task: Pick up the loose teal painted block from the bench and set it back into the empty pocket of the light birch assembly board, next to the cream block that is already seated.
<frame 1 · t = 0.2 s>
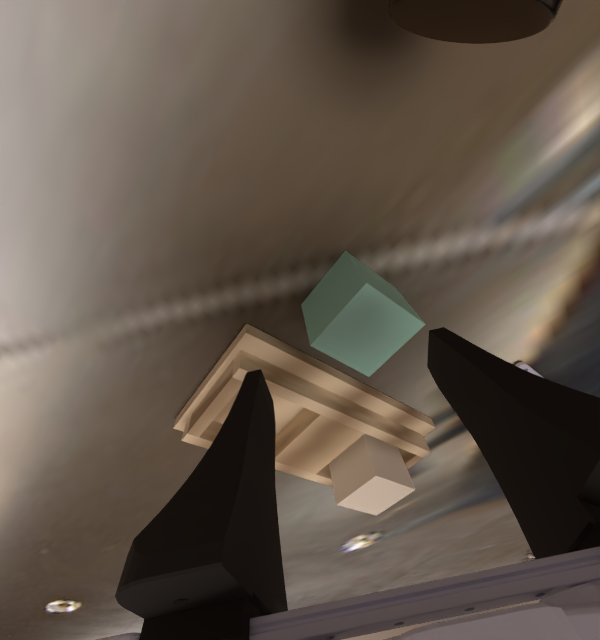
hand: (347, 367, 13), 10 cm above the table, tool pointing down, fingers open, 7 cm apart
cream block: (360, 446, 31), point 1 cm above the table, touching assembly board
teal block: (347, 295, 22), on the table
assembly board: (312, 417, 29), on the table
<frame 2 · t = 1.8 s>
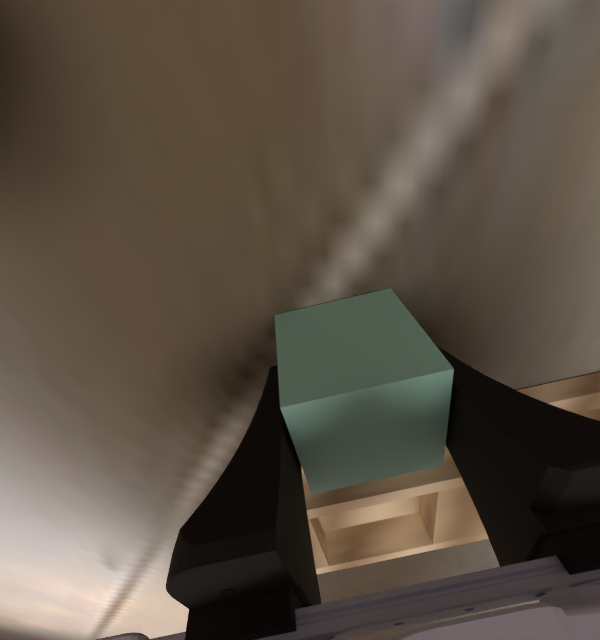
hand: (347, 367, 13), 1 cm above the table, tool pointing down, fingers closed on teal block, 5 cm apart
teal block: (339, 346, 14), on the table, touching gripper
assembly board: (449, 461, 20), on the table
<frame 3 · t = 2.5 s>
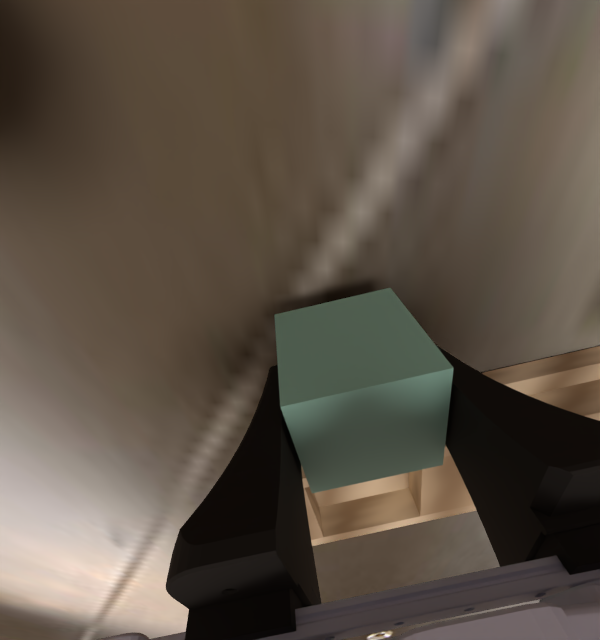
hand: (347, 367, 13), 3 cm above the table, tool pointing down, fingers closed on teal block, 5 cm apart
teal block: (339, 346, 14), point 2 cm above the table, touching gripper
assembly board: (435, 439, 22), on the table
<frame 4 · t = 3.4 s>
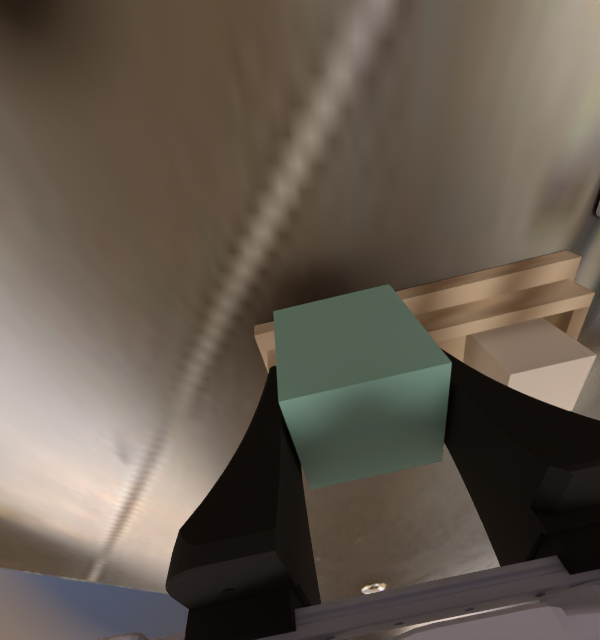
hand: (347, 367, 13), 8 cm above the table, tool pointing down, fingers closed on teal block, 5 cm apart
cream block: (492, 344, 23), point 1 cm above the table, touching assembly board
teal block: (338, 343, 14), point 7 cm above the table, touching gripper
assembly board: (408, 353, 24), on the table
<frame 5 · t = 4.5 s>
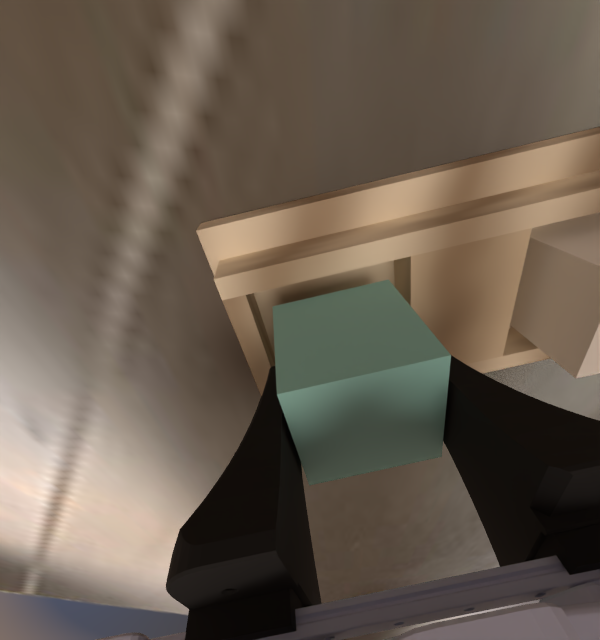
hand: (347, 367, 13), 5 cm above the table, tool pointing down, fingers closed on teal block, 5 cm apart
cream block: (555, 266, 16), point 1 cm above the table, touching assembly board
teal block: (338, 339, 14), point 3 cm above the table, touching gripper
assembly board: (431, 282, 17), on the table
when the fingers open (4 cm above the table, at t = 5.2 s): teal block drops 1 cm, resting on assembly board.
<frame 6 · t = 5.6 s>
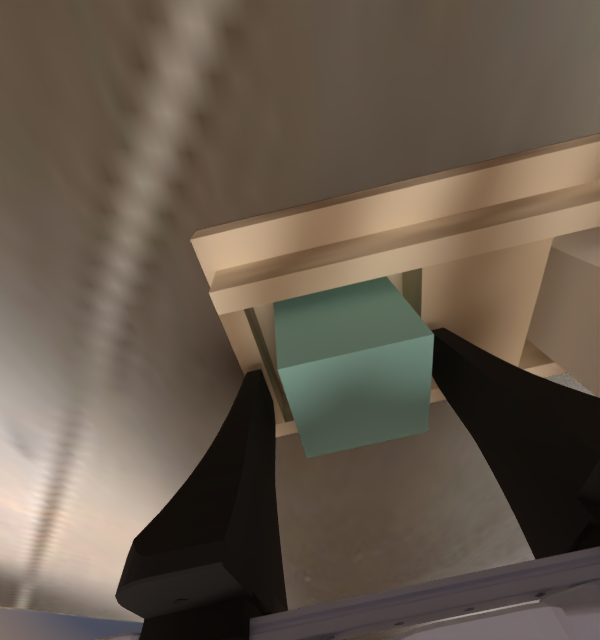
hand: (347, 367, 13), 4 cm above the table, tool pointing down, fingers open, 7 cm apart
cream block: (572, 276, 15), point 1 cm above the table, touching assembly board
teal block: (334, 326, 15), point 1 cm above the table, touching assembly board
assembly board: (440, 292, 16), on the table
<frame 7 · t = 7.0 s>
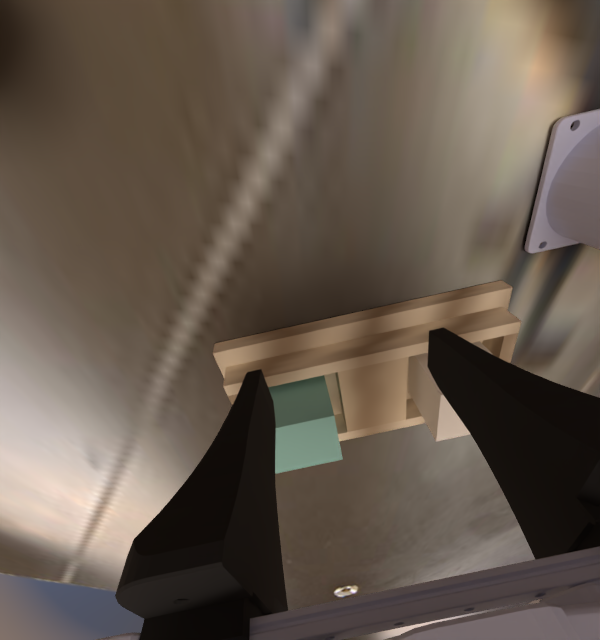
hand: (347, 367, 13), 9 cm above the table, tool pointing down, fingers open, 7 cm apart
cream block: (438, 364, 25), point 1 cm above the table, touching assembly board
teal block: (296, 392, 25), point 1 cm above the table, touching assembly board
assembly board: (363, 369, 26), on the table
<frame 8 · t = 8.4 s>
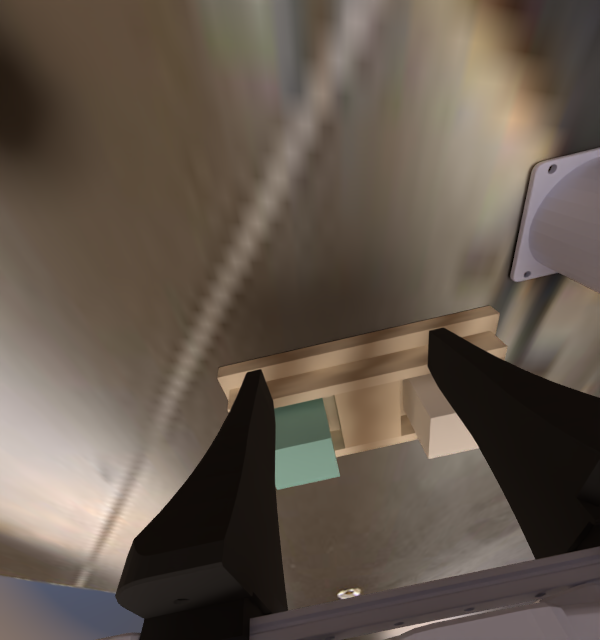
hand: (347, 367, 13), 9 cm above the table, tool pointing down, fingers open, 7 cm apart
cream block: (431, 383, 26), point 1 cm above the table, touching assembly board
teal block: (296, 411, 26), point 1 cm above the table, touching assembly board
assembly board: (359, 388, 27), on the table
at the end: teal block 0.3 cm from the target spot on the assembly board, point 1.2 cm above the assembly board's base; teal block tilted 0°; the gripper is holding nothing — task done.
